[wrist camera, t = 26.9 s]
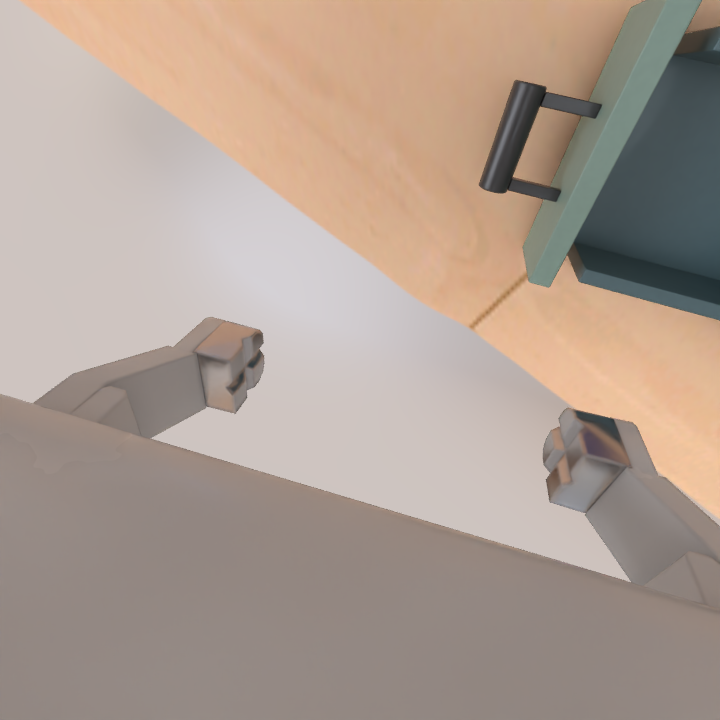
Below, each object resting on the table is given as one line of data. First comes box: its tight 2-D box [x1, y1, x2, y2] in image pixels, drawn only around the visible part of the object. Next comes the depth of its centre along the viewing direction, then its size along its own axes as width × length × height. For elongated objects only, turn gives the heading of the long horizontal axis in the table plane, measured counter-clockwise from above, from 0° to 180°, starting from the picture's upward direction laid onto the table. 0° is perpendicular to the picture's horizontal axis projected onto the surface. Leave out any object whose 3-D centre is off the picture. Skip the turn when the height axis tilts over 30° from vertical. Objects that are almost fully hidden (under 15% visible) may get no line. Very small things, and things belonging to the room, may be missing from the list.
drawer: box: [479, 0, 720, 320], centre depth 20 cm, size 19×12×6 cm, turn 79°
